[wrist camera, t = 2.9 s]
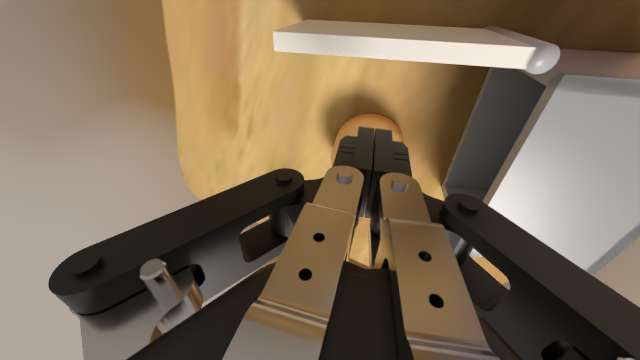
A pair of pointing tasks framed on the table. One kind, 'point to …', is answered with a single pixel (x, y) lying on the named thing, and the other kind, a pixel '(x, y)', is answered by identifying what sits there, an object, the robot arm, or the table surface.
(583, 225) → the box
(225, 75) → the table surface
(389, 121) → the tan donut
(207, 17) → the table surface
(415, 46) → the cover
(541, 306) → the robot arm
